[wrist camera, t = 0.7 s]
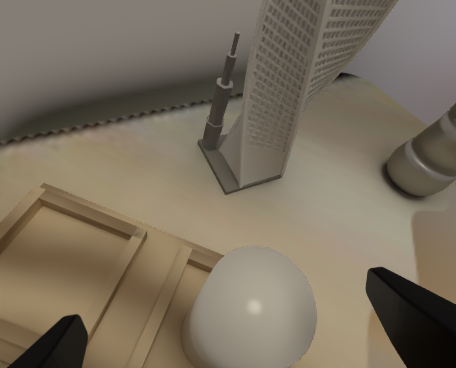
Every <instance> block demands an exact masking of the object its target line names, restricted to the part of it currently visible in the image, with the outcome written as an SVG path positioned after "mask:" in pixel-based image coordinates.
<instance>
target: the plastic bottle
mask: <svg viewBox="0 0 456 368" xmlns="http://www.w3.org/2000/svg"><path fill="white" fill-rule="evenodd" d="M387 172H388V175H389V177H390V179H391V180H392V181H393V182H394V184H395V185H396V186H398V187H399V188H400V189H401V190H403V191H405V192H407V193H409V194H411V195H415V196H429V195H432V194H435V193H437V192H440V191H442V190H444V189H445V188H446V187H447V186H449V185H450V184H451V183H452V182H453V181H454V180H455V179H456V103H455V104H454V105H453V106H452V107H451V108H450V110H449V111H447V112H446V113H445V114H444V115H443V116H442V117H441V118H440V119H438V120H437V121H436V122H434V123H433V124H432V125H430V126H429V127H428V128H426V129H425V130H424V131H423V132H421V133H420V134H419V135H417V136H416V137H414V138H412V139H410V140H409V141H407V142H405V143H404V144H402V145H401V146H400V147H398V148H397V149H396V150H395V151H394V152H393V154H392V155H391V156H390V158H389V159H388V163H387Z"/></svg>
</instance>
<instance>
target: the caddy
mask: <svg viewBox="0 0 456 368" xmlns="http://www.w3.org/2000/svg"><path fill="white" fill-rule="evenodd" d="M223 257H224V255H221V254H219V253H216V252H214V251H211V250H209V249H206V248H204V247H201V246H199V245H196V244H194V243H191V242H189V241H186V240H184V239H182V238H179V237H177V236H174V235H172V234H169V233H167V232H164V231H162V230H159V229H157V228H154V227H152V226H149V225H147V224H144V223H142V222H139V221H137V220H134V219H132V218H130V217H127V216H125V215H122V214H120V213H117V212H115V211H112V210H110V209H107V208H105V207H102V206H100V205H97V204H95V203H92V202H90V201H87V200H85V199H82V198H80V197H77V196H75V195H73V194H70V193H68V192H65V191H63V190H60V189H58V188H55V187H53V186H50V185H48V184H45V183H43V185H42V186H41V187H38V186H35V187H34V188H33V189H32V190H31V191H30V192H29V193H28V195H27V196H26V197H25V198H24V199H23V200H22V201H21V202H20V203H19V204H18V205H17V206H16V207H15V208H14V209H13V210H12V211H11V212H10V213H9V214H8V216H7V217H6V218H5V219H4V220H3V221H2V222H1V223H0V360H2V361H5V362H7V363H10V364H12V363H13V362H14V361H15V360H16V359H17V358H18V357H19V356H20V355H22V354H23V353H24V352H25V351H26V350H27V349H28V348H29V347H30V346H31V345H33V344H34V343H35V342H36V341H37V340H38V339H39V338H40V337H41V336H42V335H44V334H45V333H46V332H47V331H48V330H49V329H50V328H51V327H52V326H53V325H54V324H56V323H57V322H58V321H59V320H60V319H61V318H62V317H64V316H67V315H73V314H78V315H80V316H81V318H82V321H83V323H84V325H85V328H86V330H87V332H88V343H87V347H86V352H85V356H84V361H83V366H82V368H195V367H194V366H193V365H192V364H191V363H190V362H189V360H188V359H187V357H186V355H185V353H184V351H183V347H182V342H181V329H182V324H183V321H184V319H185V317H186V315H187V313H188V311H189V309H190V308H191V306H192V304H193V302H194V301H195V299H196V297H197V295H198V294H199V292H200V290H201V288H202V287H203V285H204V283H205V281H206V280H207V278H208V276H209V275H210V273H211V271H212V269H213V268H214V266H215V265H216V264H217V263H218V261H219V260H220V259H222V258H223Z"/></svg>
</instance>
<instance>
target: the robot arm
mask: <svg viewBox="0 0 456 368" xmlns="http://www.w3.org/2000/svg"><path fill="white" fill-rule="evenodd" d="M366 293H367V296H368V298H369V300H370V302H371V304H372V306H373V308H374V310H375V312H376V314H377V316H378V318H379V320H380V322H381V324H382V326H383V327H384V330H385V332H386V333H387V335H388V337H389V339H390V341H391V343H392V344H393V346H394V348H395V350H396V351H397V353H398V354H399V356H400V358H401V359H402V361H403V362H404V364H405V365H406V367H407V368H456V304H454V303H452V302H450V301H448V300H446V299H444V298H442V297H440V296H438V295H436V294H435V293H433V292H431V291H429V290H427V289H425V288H423V287H421V286H419V285H417V284H415V283H413V282H411V281H409V280H407V279H405V278H403V277H401V276H399V275H398V274H396V273H394V272H392V271H390V270H388V269H386V268H384V267H375V268H370V269H369V270H368V273H367V281H366ZM87 343H88V332H87V330H86V328H85V325H84V323H83V321H82V318H81V316H80V315H78V314H73V315H67V316H64V317H62V318H61V319H60V320H59V321H58V322H57V323H56V324H54V325H53V326H52V327H51V328H50V329H49V330H48V331H47V332H46V333H45V334H44V335H42V336H41V337H40V338H39V339H38V340H37V341H36V342H35V343H34V344H33V345H31V346H30V347H29V348H28V349H27V350H26V351H25V352H24V353H23V354H22V355H20V356H19V357H18V358H17V359H16V360H15V361H14V362H13V363H12V364H11V365H9V366H8V367H7V368H82V366H83V361H84V356H85V352H86V347H87Z"/></svg>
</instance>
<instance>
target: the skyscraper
mask: <svg viewBox="0 0 456 368" xmlns="http://www.w3.org/2000/svg"><path fill="white" fill-rule="evenodd" d="M397 1H398V0H262V4H261V8H260V12H259V16H258V19H257V23H256V27H255V31H254V36H253V40H252V45H251V50H250V55H249V60H248V66H247V71H246V78H245V85H244V92H243V101H242V111H241V114H240V115H239V117H238V119H237V120H236V122H235V123H234V125H233V127H232V128H231V130H230V132H229V133H228V134H226V135H221V136H220V133H221V130H222V128H223V122H224V119H223V116H224V113H225V110H226V107H227V104H228V100H229V97H230V94H231V91H232V87H233V82H232V81H230V78H231V75H232V71H233V68H234V65H235V61H236V58H237V54H235V50H236V46H237V43H238V39H239V35H240V32H238V31H236V32H235V37H234V41H233V45H232V49H231V52H228V54H227V58H226V62H225V67H224V71H223V76H222V78H218V79H217V83H216V88H215V93H214V97H213V102H212V107H211V111H210V115H209V116H208V117H207V122H206V127H205V132H204V137H203V139H202V140H198V145H199V146H200V148H201V150H202V152H203V154H204V156H205V158H206V159H207V161H208V163H209V165H210V167H211V169H212V171H213V172H214V174H215V176H216V178H217V180H218V182H219V184H220V185H221V187H222V189H223V191H224V193H225V195H226V194H229V193H232V192H236V191H239V190H242V189H245V188H249V187H252V186H255V185H258V184H262V183H265V182H268V181H271V180H274V179H278V178H281V177H282V176H283V174H284V171H285V168H286V164H287V161H288V158H289V155H290V152H291V149H292V146H293V142H294V139H295V136H296V132H297V129H298V126H299V122H300V119H301V115H302V113H303V112H304V110H305V109H306V107H307V106H308V104H309V103H310V102H311V101H312V100H313V99H314V98H316V97H317V96H318V95H319V94H320V93H321V92H322V91H323V90H324V89H325V88H326V87H327V86H328V85H329V84H330V83H331V82H332V81H333V80H334V79H335V78H336V77H337V76H338V75H339V74H340V73H341V71H342V70H343V69H344V68H345V67H346V66H347V65H348V64H349V63H350V62H351V61H352V60H353V58H354V57H355V56H356V55H357V54H358V53H359V51H360V50H361V49H362V48H363V47H364V46H365V44H366V43H367V42H368V40H369V39H370V38H371V37H372V35H373V34H374V33H375V32H376V30H377V29H378V28H379V27H380V25H381V24H382V22H383V21H384V19H385V18H386V17H387V15H388V14H389V13H390V11H391V10H392V9H393V7H394V6H395V4H396V3H397Z"/></svg>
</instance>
